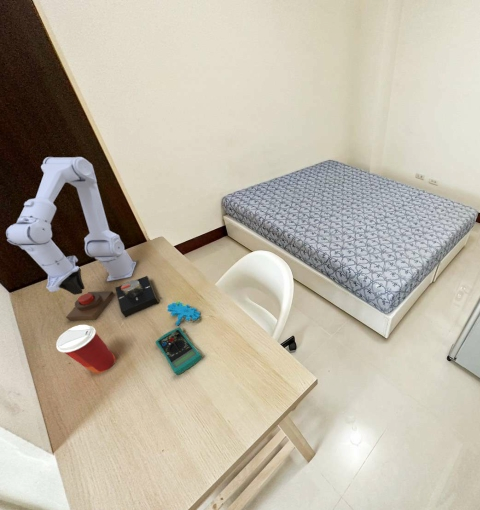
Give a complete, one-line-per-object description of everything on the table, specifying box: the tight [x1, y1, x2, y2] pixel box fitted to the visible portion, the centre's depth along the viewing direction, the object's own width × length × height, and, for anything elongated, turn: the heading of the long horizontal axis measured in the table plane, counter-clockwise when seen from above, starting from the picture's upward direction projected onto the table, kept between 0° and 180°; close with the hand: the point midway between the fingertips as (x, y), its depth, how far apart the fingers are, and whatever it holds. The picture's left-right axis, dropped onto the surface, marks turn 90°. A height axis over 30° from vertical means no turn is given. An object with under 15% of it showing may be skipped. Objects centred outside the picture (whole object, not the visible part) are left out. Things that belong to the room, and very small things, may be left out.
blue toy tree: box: [166, 300, 201, 326], centre depth 85 cm, size 11×6×10 cm
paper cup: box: [55, 324, 116, 374], centre depth 70 cm, size 8×8×14 cm
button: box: [77, 292, 94, 305], centre depth 87 cm, size 4×4×2 cm
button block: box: [65, 290, 116, 322], centre depth 89 cm, size 11×8×4 cm
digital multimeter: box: [154, 327, 203, 376], centre depth 77 cm, size 7×15×3 cm, turn 48°
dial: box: [121, 279, 143, 298], centre depth 91 cm, size 5×5×4 cm
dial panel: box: [115, 275, 160, 318], centre depth 93 cm, size 14×10×3 cm
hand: (79, 291), depth 85 cm, fingers closed
